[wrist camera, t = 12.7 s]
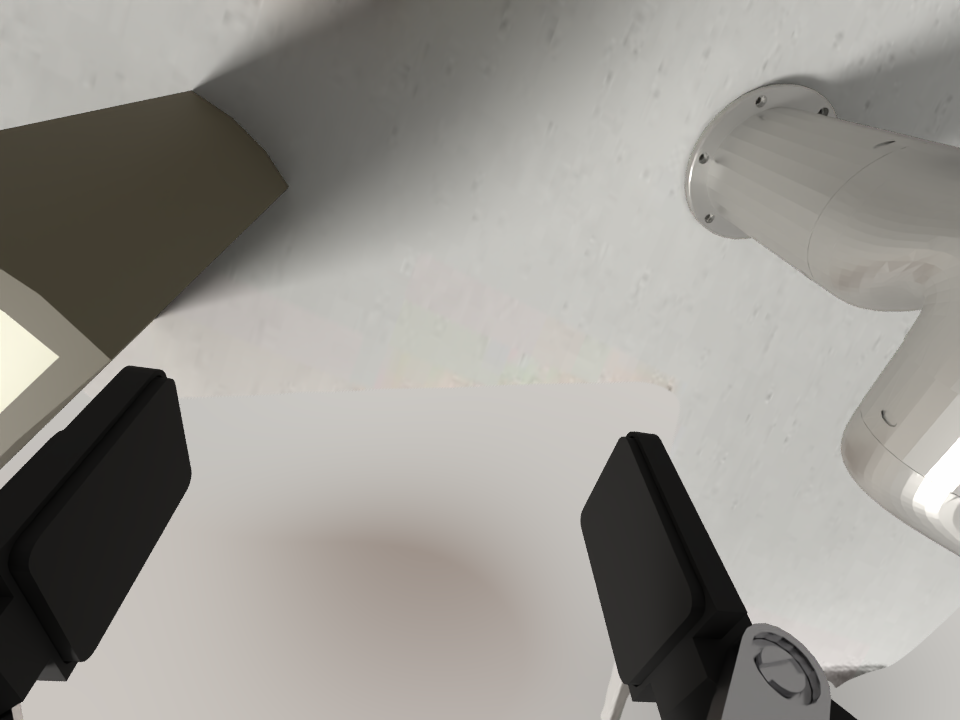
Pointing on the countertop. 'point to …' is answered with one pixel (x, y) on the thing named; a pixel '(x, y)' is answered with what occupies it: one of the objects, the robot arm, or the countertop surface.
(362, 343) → the countertop surface
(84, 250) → the book
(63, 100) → the countertop surface
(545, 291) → the countertop surface
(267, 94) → the countertop surface
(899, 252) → the robot arm
